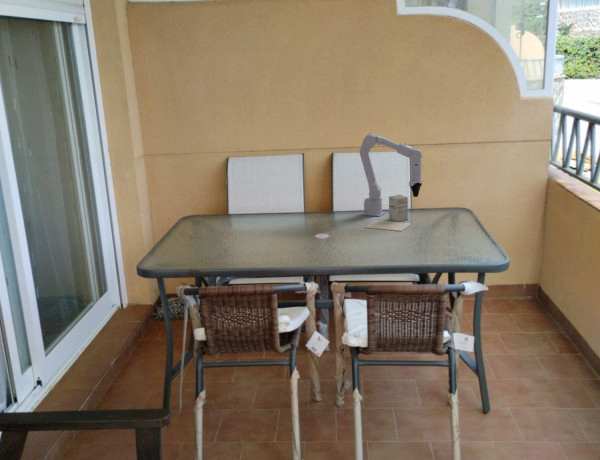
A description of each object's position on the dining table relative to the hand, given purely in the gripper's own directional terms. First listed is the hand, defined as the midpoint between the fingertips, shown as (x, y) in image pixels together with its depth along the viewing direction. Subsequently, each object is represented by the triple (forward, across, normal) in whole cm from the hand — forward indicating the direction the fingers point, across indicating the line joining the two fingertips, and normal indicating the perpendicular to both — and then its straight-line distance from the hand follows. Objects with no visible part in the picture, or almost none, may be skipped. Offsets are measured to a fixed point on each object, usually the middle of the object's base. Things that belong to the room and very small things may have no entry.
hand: (415, 196), depth 326 cm
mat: (+10, -28, +4) cm, 30 cm away
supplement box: (+10, -14, +4) cm, 18 cm away
